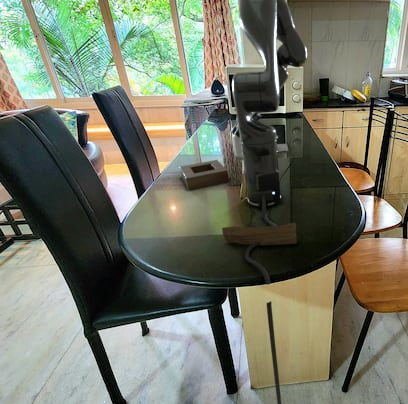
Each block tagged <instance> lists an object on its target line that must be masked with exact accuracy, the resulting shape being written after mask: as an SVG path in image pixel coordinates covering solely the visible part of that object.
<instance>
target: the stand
mask: <svg viewBox="0 0 408 404" xmlns="http://www.w3.org/2000/svg"><path fill="white" fill-rule="evenodd" d="M179 170H180V175H181V178H182V181H183V182H184V184H185V186H186V187H187V189H188V191H191V190H196V189H201V188H205V187H210V186H215V185H219V184H224V183H228V182H230V178H229V172H228V171H229V170H228V169H227V168H226V167H225V166H224V165H223V164H222V163H221V162H220V161H219V160H218V159H213V160H208V161H203V162H198V163H192V164H186V165H180V166H179Z"/></svg>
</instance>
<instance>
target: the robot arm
mask: <svg viewBox="0 0 408 404" xmlns="http://www.w3.org/2000/svg"><path fill="white" fill-rule="evenodd" d="M238 19H239V20H238V21H239V25H240V28H241V30H242V32H243V34H244V35H245V37H246V38H247V40H248V42H249V43H250V44H251V46H252V47H253V48H254V50H255V51H256V53H257V54H258V56H259V57H260V59H261V62H262V64H263V66H264V70H263V71H261V70H260V71H240V72H236V73H235V74H234V75H233V77H232V81H231V87H232V88H231V89H232V97H233V103H234V108H235V113H236V119H235V121H236V123H235V124H234V126H233V128H231V130H230V132H231V134H233V135H234V134H235V135H236V136H238V137H240V140H241V148H242V156H243V157H242V164H243V171H244V180H245V187H246V192H247V193H246V195H247V203H248V204H249V205H250V206H252V207H257V208H259V209H262V217H263V220H264V221H265V222H266V223H267V224H268V225H269V226H277V225H278V224H276V223H275V222H273V221H271V220H270V219H269V217H268V215H267V207H268V208H269V207H271V206H276V205H280V204H281V203H282V195H281V184H280V183H281V182H280V171H279V157H278V156H279V155H278V152H277V144H278V142H277V140H278V138H276V136H277V130H276V128H275V127H274V126H272V125H269V124H266V123H263V122H260V121H259V120H260V119H261V118H262V115H261V114H267V113H268V114H269V113H274V112H277V110H278V109H279V106H280V99H281V97H280V95H281V92H280V91H281V89H282V88H283V87H284V86H285V84H286V82H287V81H288V79H289V73H288V71H287V69H288V67H289V66H290V67H293V68H301V67H303V66H304V65H305V64H306V62H307V57H308V52H307V47H306V45H305V43H304V41H303V38H302V37H301V35H300V32H299V31H298V30H297V29H296V26H295V23H294V19H293V16H292V12H291V9H290V7H289V4H288V3H287V1H286V0H238ZM278 41H279V42H281V43H282V44H280V46H279V47H278V46H277V44H278V43H277V42H278ZM237 125H238V129H236V126H237ZM259 246H261V245H260V242H255V243H253V244H252V245H249V246H248V247H246V250H245V252H244V259H245V261H246V262H247V263H249V264H251V265H253V266H254V267H255V268H257V269H258V270H259V271H260V273H261V274H262V276H263V278H264V282H265V284H266V285H271V284H272V283H271V279H270V275H269V274H268V271H267V270H266V268H265V267H264V266H263V264H261V263H259V262H258V261H257V260H255V259H253V258H252V257H251V256H250V253H251V251H252V250H253V249H254V248H256V247H259ZM266 312H267V313H266V314H267V315H266V316H267V322H268V323H267V325H268V332H269V341H270V342H269V343H270V349H271V350H270V351H271V359H272V369H273V377H274V378H273V379H274V386H275V394H276V403H277V404H282V396H281V385H280V377H279V367H278V358H277V348H276V338H275V337H276V336H275V329H274V327H275V326H274V318H273V306H272V300H270V301H268V302H266Z"/></svg>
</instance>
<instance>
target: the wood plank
mask: <svg viewBox="0 0 408 404" xmlns="http://www.w3.org/2000/svg"><path fill="white" fill-rule="evenodd" d="M276 225H277V226H271V225H267V226H255V227H253V226H251V227H246V226H245V227H244V226H225V227H221V229H222V235H223V238H224V240H226V242H227V243H236V244H240V245H246V246H247V245H249V246H250V245H252V244H253V243H255V242H260V245H259V246H281V245H296V244H297V243H298V241H297V222H290V223H286V224H279V225H278V224H276Z"/></svg>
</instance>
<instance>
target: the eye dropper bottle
mask: <svg viewBox="0 0 408 404" xmlns="http://www.w3.org/2000/svg"><path fill="white" fill-rule="evenodd" d="M236 129H238V125H237V126H236ZM232 141H233V149H234V154H235V155H234V156H235V157H236V158H243V156H242V148H241V140H240V137H238V136H236V135H235V134H233V135H232Z"/></svg>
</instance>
